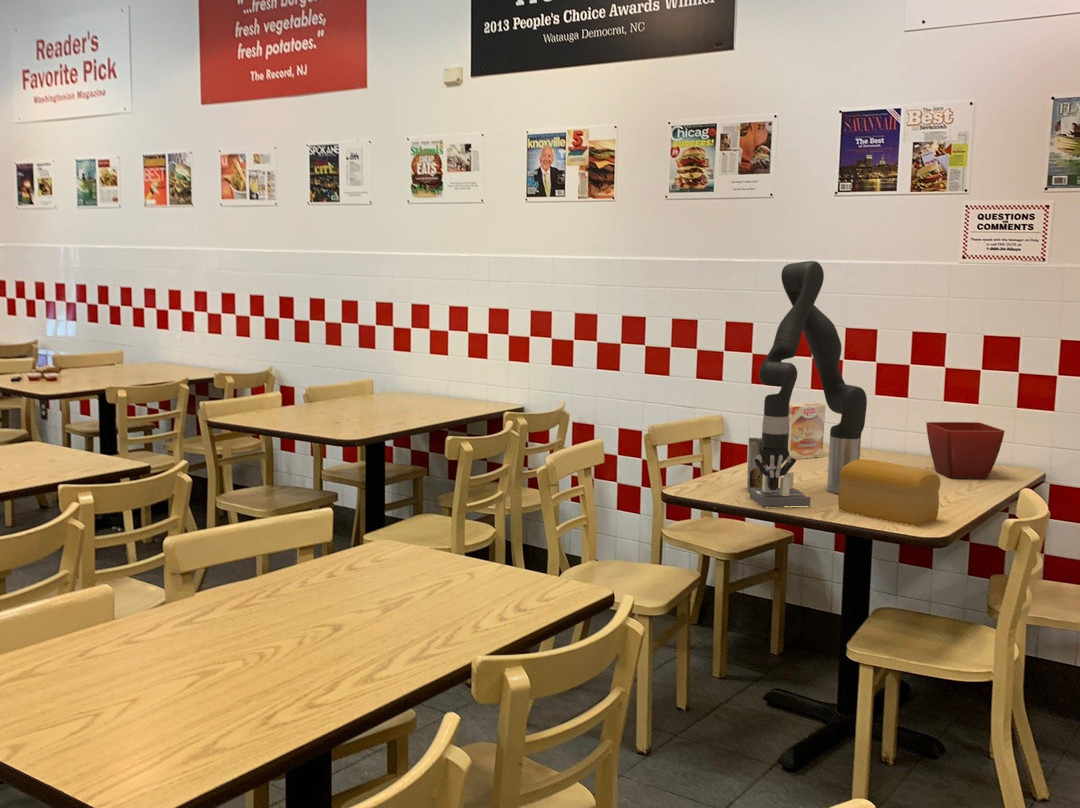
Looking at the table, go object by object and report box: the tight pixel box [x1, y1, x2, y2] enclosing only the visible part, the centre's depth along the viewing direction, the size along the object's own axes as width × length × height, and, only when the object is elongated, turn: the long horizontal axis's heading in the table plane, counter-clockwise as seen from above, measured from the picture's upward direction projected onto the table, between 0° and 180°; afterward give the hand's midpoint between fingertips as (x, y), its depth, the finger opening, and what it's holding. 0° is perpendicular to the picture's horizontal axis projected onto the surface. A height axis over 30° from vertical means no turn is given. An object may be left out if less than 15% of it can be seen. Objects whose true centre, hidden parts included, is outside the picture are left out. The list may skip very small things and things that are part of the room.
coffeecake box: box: [788, 402, 827, 460], centre depth 383 cm, size 15×7×20 cm, turn 115°
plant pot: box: [926, 421, 1006, 480], centre depth 356 cm, size 19×19×17 cm
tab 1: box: [762, 474, 771, 493], centre depth 311 cm, size 2×3×5 cm
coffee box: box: [746, 437, 767, 492], centre depth 327 cm, size 9×6×16 cm
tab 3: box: [779, 476, 790, 496], centre depth 307 cm, size 2×3×5 cm
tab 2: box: [783, 470, 794, 489], centre depth 316 cm, size 2×3×5 cm
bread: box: [837, 458, 941, 527], centre depth 298 cm, size 24×13×15 cm, turn 44°
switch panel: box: [749, 487, 812, 509], centre depth 312 cm, size 14×13×3 cm
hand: (772, 489), depth 307 cm, fingers closed
